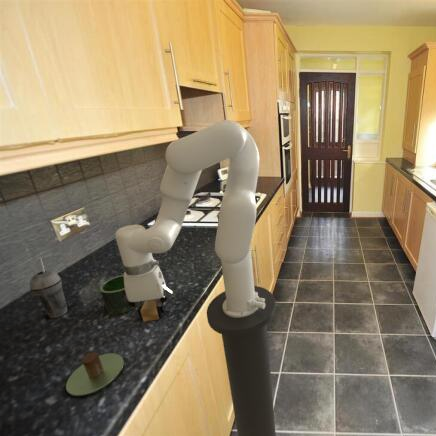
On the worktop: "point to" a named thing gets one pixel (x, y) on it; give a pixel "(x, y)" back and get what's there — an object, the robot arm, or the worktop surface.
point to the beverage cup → (49, 292)
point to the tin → (115, 296)
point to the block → (149, 311)
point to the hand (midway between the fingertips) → (152, 315)
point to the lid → (94, 373)
